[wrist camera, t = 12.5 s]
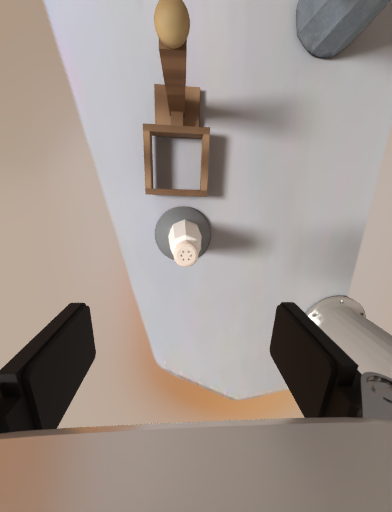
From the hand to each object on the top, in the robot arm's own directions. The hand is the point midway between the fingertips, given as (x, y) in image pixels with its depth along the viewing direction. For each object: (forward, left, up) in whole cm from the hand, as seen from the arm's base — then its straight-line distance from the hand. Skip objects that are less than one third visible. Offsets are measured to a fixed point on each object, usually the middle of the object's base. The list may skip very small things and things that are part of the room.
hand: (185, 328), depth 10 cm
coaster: (0, 0, -24) cm, 24 cm away
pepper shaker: (0, 0, -24) cm, 24 cm away
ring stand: (+13, +1, -24) cm, 27 cm away
